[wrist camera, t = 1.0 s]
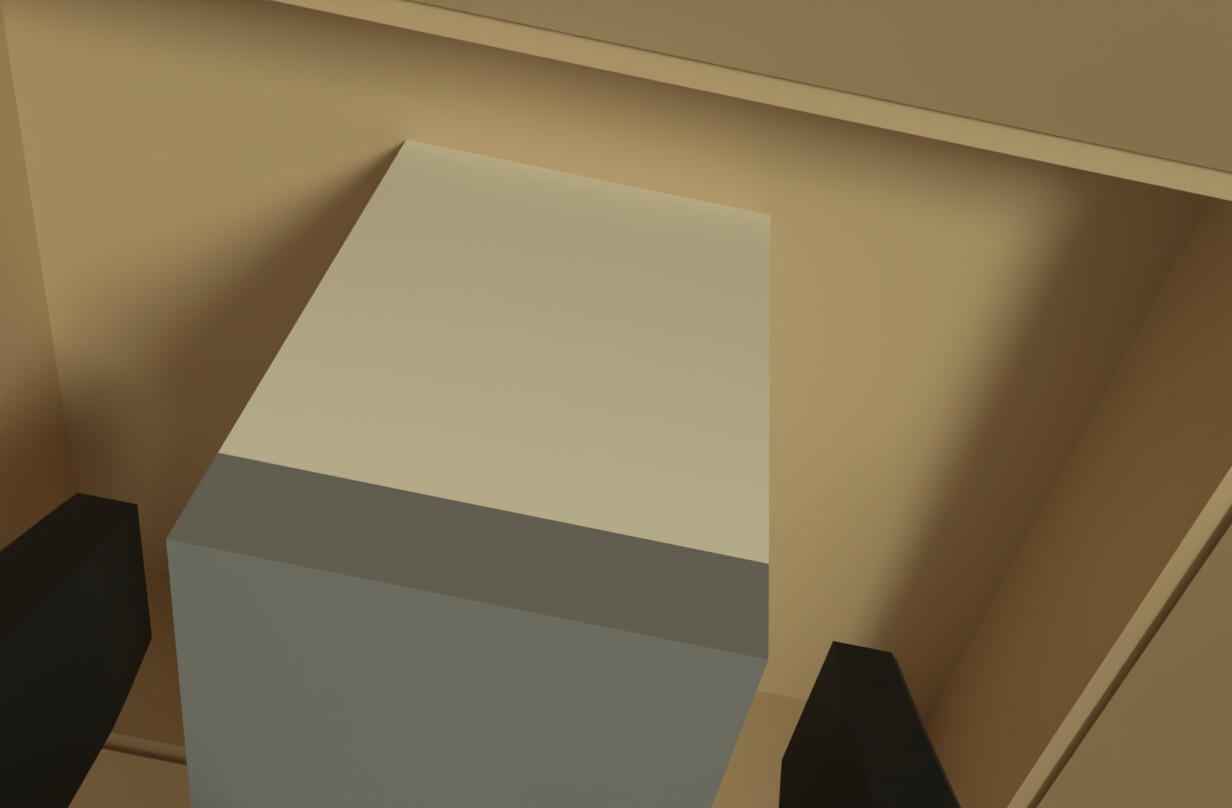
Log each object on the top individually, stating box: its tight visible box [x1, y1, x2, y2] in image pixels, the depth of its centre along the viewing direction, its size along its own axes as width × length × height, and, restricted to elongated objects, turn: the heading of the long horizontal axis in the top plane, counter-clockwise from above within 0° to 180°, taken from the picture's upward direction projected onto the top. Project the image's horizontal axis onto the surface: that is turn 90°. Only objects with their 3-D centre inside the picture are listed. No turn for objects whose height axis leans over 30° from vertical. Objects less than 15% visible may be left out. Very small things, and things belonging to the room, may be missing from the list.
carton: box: [0, 0, 1232, 808], centre depth 14 cm, size 18×18×6 cm
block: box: [166, 140, 770, 808], centre depth 13 cm, size 4×6×7 cm
